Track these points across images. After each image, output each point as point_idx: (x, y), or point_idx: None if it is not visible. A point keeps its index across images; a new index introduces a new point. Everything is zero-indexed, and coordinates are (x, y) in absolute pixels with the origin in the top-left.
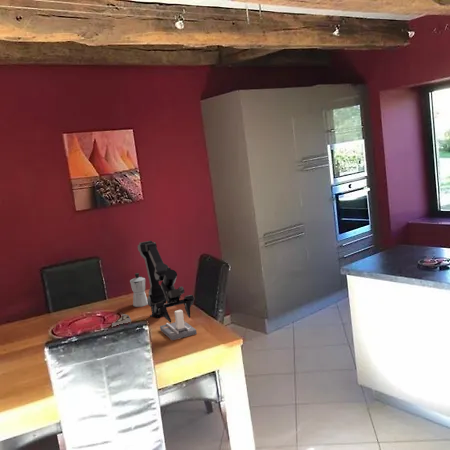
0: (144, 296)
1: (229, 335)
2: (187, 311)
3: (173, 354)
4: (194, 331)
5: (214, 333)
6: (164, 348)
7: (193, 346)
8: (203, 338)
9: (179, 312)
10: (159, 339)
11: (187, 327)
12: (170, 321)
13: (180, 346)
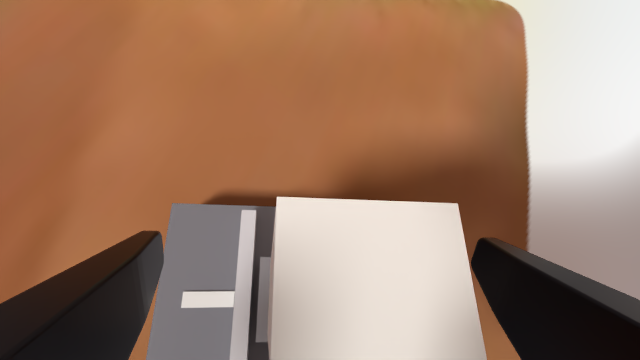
0: None
1: (10, 21)
2: (86, 357)
3: (445, 31)
4: (196, 208)
5: (60, 124)
6: (480, 130)
7: (313, 41)
8: (193, 99)
9: (369, 208)
10: None
11: (208, 337)
12: (494, 240)
13: (383, 91)
